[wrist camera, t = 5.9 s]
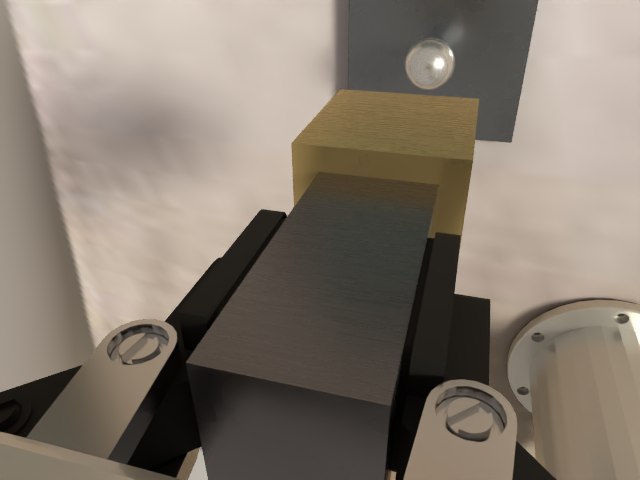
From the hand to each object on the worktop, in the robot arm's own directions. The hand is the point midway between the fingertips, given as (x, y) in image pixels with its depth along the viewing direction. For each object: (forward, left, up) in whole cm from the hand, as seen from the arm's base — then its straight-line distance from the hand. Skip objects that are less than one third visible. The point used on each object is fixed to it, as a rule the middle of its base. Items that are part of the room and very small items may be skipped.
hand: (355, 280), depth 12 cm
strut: (0, 0, -7) cm, 7 cm away
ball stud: (0, 0, -23) cm, 23 cm away
